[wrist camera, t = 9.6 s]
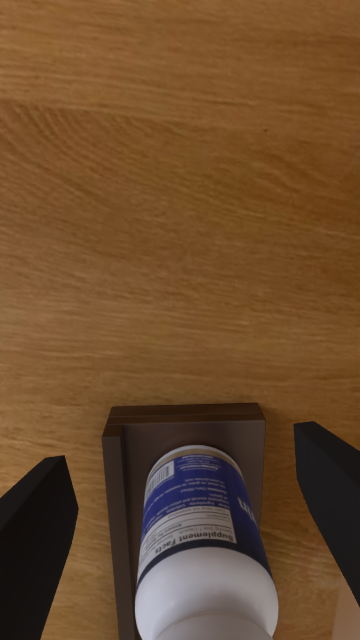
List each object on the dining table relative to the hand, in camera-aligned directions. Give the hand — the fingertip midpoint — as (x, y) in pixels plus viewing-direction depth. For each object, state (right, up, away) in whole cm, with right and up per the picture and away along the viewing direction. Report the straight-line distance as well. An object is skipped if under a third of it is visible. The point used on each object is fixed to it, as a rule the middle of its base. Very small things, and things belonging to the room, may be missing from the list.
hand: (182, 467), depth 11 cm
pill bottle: (+1, -5, +10) cm, 11 cm away
